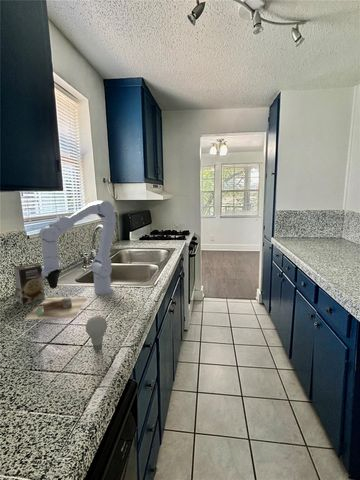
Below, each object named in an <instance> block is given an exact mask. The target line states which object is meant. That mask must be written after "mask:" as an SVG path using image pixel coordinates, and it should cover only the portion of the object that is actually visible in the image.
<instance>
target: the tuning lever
mask: <svg viewBox="0 0 360 480" xmlns="http://www.w3.org/2000/svg"><path fill="white" fill-rule="evenodd" d="M38 306H43V310H44V311H49V310H53V309H58V308H69V307H71V306H72V302H71V298H64V299H62V300H58V301H53V302H48V303H43V304H41V303H40V304H39V305H38Z"/></svg>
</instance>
